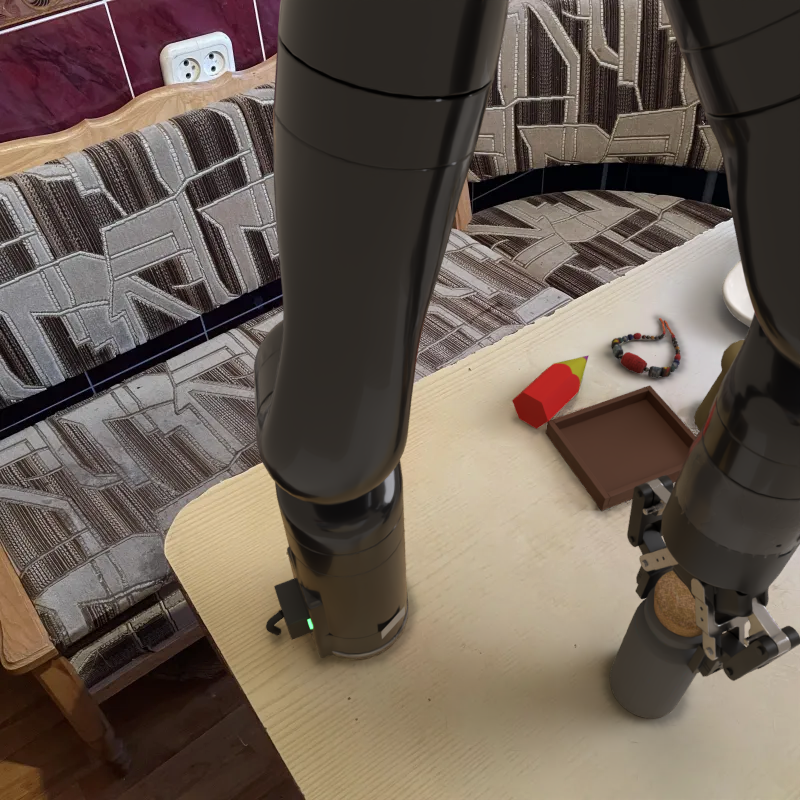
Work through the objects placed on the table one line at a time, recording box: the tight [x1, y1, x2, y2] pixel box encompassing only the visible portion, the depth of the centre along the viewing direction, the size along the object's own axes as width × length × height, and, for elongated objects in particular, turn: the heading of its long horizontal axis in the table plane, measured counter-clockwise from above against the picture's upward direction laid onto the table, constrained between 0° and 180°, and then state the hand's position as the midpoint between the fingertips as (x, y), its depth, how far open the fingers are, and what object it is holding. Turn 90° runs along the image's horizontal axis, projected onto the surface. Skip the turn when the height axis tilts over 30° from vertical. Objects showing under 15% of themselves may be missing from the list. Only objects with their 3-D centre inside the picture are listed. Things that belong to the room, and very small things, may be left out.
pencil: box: [511, 355, 589, 430], centre depth 85 cm, size 5×12×4 cm, turn 138°
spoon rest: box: [721, 259, 754, 327], centre depth 96 cm, size 24×12×7 cm, turn 155°
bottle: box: [609, 571, 703, 719], centre depth 59 cm, size 6×6×15 cm
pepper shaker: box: [693, 339, 745, 432], centre depth 80 cm, size 6×6×11 cm
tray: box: [544, 385, 697, 512], centre depth 80 cm, size 13×11×2 cm
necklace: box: [610, 317, 682, 379], centre depth 91 cm, size 8×11×2 cm
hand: (674, 627), depth 56 cm, fingers closed on bottle, 5 cm apart
